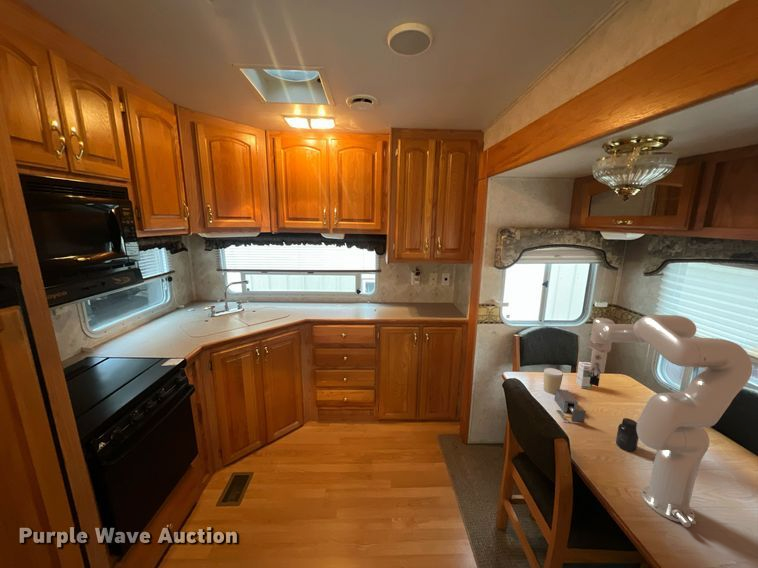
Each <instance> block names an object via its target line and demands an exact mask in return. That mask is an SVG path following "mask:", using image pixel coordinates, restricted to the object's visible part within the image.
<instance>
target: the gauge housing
mask: <svg viewBox="0 0 758 568" xmlns="http://www.w3.org/2000/svg"><path fill="white" fill-rule="evenodd" d="M554 401H555V403H556V404H557V406H558V407H559V408H560V410H558V409H557V410H555V412H556V414H557V415H558V417H559V418H560V419H561V421H562V422H563V423H567V424H568V423H569V420H568V418H564V416H565V414H564V413H566V414H567V411H568V403H570V404H571V405H572V406H573V408H574V409H576V410H578V406H579V401H578V400H577V399H576V398H575V397H574V395H573V394H572V393H571V392H570V391H569V390H567V389H560V390H559V389H556V392H555V394H554Z"/></svg>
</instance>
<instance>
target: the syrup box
mask: <svg viewBox="0 0 758 568" xmlns="http://www.w3.org/2000/svg"><path fill="white" fill-rule="evenodd" d="M577 366H578V367H577V373H576V374H577V375H576V381H575V382H576V383H577V384H578V385H579V386H580V387H581V388H580V387H579V386H578V385H577V384H576V385H577V386H578V387H579V388H580V389H585V388H587V390H589V389H590V390H591V389H593V388H592V387H593V385H591V384H590V377H591V372H592V370H591V361H590V362H589V361H588V362H587V361H578V365H577Z"/></svg>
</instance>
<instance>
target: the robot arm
mask: <svg viewBox="0 0 758 568" xmlns="http://www.w3.org/2000/svg"><path fill="white" fill-rule="evenodd" d="M591 327H592V328H591V334H590V340H589V345H588V346H589V348H590V349H591V355H590V363H591V370H592V372H591V377H590V384H591V385H592V386H595V387H599V384H600V378H601V374H604V373H605V368H606V364H607V357H608V353H610V352H611V351H612V350H611V349H612V343H629V344H630V343H631V344H632V343H634V344H636V343H638V344H639V343H647V344H648V345H649V346H650V347H651V348H653V349H654V350H655V351H656V352H657V353H658V354H660V356H661V357H662V358H664V359H665V360H666V361H668V362H670V363H671V364H672V365H676V366H678V367H685V368H706V369H705V370H703V371H702V372H700V373H698V374H697V375H696V376H694V377H693V378H692V379H691V380H690V383H689V384H688V386H687V387H686V389H685V390H684V391H681V392H659V393H656V394H654V395H652V396H651V397H650V398H649V399H648V401H647V402H646V404H645V406H644V408H643V409H642V412H641V414H640V416H639V418H638V419H637V421H636V422H637V426H636V431H637V435H638V437H639V439H638V440H640V442H641V443H642V444H643V445H645V446H646V447H648V448H650V449H652V450H656V451H655V452H656V453H655V455H654V456H655V457H654V462H653V466H652V469H651V470H652V471H651V475H650V480H649V485H647V486H643V487H642V488H641V493H640V494H641V498H642V499H643V501H644V502H645V503H646V504H647V505H648V506H649V508H651V509H652V510H653V511H654V512H656V513H658V514H659V515H661V516H663V517H664V518H667V519H669V520H671V521H674V522H676V523H680V524H682V525H683V526H684V527H685V528H690V527H691V526H692V525H695V524H697V521H696V520H695V512H694V510H693V509H692V508H691V507H690V503H691V499H692V495H693V491H694V487H695V483H696V479H697V476H698V471H699V467H700V464H701V461H702V459H703V458H704V456H705V455H706V453H707V451H708V450H709V447H710V436H709V433H708V432H707V430H705V428H710V427H713V426H715V425H716V424H717V423H718V422H719V420H720V419H721V417H722V416H723V415H724V413H725V412H726V410H727V409H728V408H729V407H730V405H731V403H732V401H733V400H734V398H735V397H736V396H737V394H739V393H740V392H741V391H742V389H743V388H744V387H745V386H746V385H747V384H748V382H749V380H750V379H751V376H752V374H753V363H752V360H751V359H752V358H751V357H750V355H749V353H748V352H747V351H746V350H745V348H744V347H742V346H741V345H740V344H738V343H736V342H734V341H731V340H727V339H722V338H714V337H694V336H695V335H696V334H697V326H696V324H695V323H694V321H692V320H691V319H690V318H688V317H686V316H681V315H677V314H676V315H675V314H670V315H669V314H648V315H644V316H642V317H641V318H639V319H638V320H637V321H636V322H634V323H633V324H632V323H631V324H629V323H616V322H615V321H614V320H612V319H610V318H605V317H596V318H594V319H593V322H592V326H591Z"/></svg>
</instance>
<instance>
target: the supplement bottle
mask: <svg viewBox="0 0 758 568" xmlns="http://www.w3.org/2000/svg"><path fill="white" fill-rule="evenodd" d="M637 422H638V421H635V420H633V419H631V418H628V417H624V418H623V419H622V422H621V423H619V424H618V428H617V433H616V438H615V445H616V446H617V447H619V448H620V449H622V450H623V451H626V452H630V453H634V452H637V449H638V443H639V440H640V439H639V437H638V435H637V431H636V426H637Z"/></svg>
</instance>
